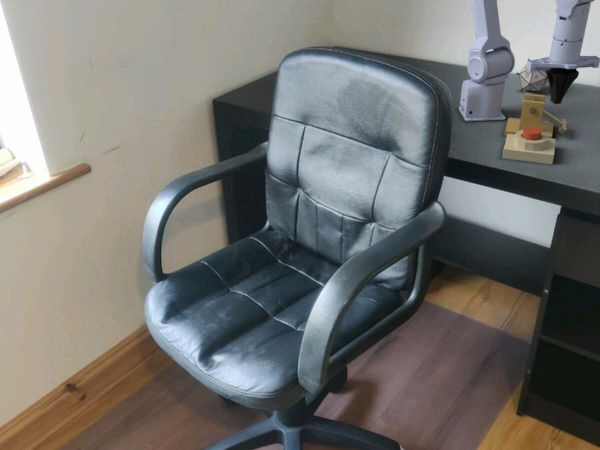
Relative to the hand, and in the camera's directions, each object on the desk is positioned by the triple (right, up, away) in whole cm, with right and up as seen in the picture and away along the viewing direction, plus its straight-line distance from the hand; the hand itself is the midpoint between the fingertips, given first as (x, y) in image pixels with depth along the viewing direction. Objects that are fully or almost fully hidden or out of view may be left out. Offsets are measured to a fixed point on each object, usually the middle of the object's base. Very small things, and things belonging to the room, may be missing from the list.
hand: (555, 102), depth 131 cm
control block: (-5, -11, +1) cm, 12 cm away
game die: (+7, +9, +31) cm, 33 cm away
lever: (0, -2, +8) cm, 8 cm away
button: (-6, -8, -1) cm, 9 cm away
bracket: (-2, -5, +10) cm, 12 cm away
